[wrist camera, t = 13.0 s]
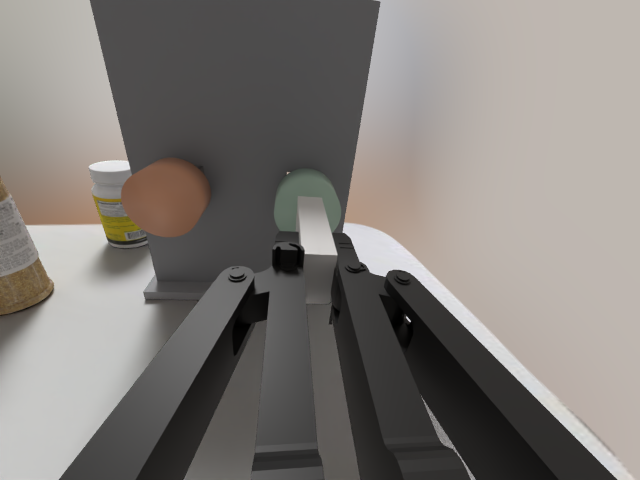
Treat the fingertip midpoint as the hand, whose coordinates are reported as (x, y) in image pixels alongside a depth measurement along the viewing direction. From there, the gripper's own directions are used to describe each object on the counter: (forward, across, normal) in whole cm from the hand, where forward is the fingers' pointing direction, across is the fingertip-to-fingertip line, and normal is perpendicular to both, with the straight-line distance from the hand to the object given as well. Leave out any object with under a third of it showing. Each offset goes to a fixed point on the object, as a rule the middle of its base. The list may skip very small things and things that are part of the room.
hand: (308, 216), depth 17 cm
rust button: (+6, -9, -2) cm, 11 cm away
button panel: (+6, -4, -10) cm, 13 cm away
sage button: (+6, 0, -2) cm, 7 cm away
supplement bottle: (+13, -18, -10) cm, 25 cm away
